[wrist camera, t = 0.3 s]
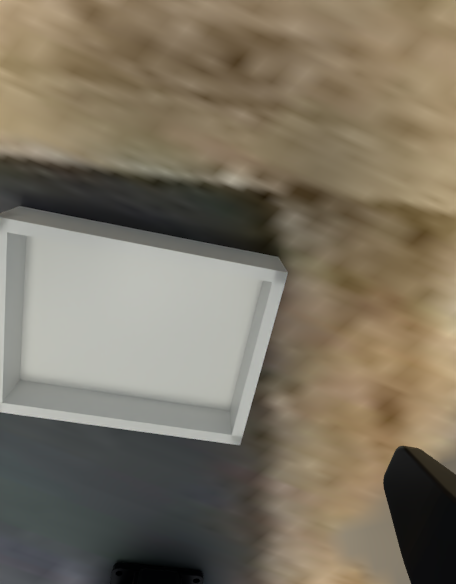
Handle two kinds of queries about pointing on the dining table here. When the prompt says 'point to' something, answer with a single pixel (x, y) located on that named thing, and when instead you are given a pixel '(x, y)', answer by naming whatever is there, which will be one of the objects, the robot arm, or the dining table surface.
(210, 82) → the dining table surface
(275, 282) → the tray
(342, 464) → the dining table surface
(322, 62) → the dining table surface
